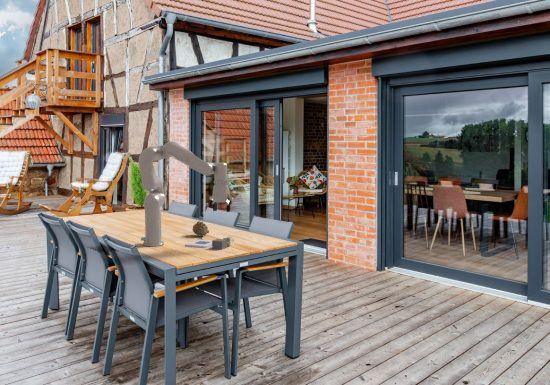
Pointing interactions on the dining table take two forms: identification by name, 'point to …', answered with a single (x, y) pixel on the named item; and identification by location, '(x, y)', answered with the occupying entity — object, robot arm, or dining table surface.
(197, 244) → the board
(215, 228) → the dining table surface
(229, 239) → the cream block
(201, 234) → the pine cone
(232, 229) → the dining table surface
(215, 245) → the charcoal block
